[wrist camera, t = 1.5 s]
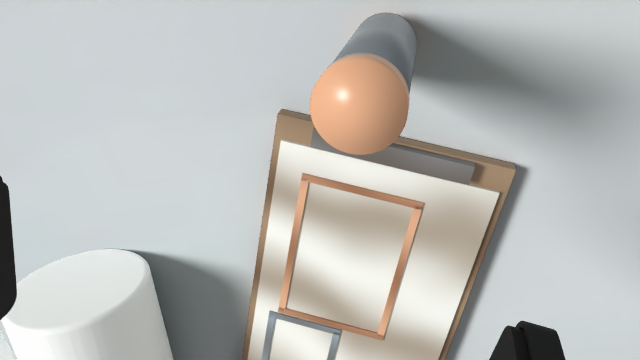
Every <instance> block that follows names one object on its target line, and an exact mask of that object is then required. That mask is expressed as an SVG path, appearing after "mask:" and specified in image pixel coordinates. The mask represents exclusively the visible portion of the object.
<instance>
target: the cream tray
mask: <svg viewBox="0 0 640 360" xmlns="http://www.w3.org/2000/svg"><path fill="white" fill-rule="evenodd" d="M515 172H516V168H515V165H514V163H510V162H506V161H501V160H497V159H493V158H489V157H484V156H480V155H476V154H472V153H467V152H463V151H459V150H455V149H450V148H446V147H442V146H438V145H433V144H429V143H425V142H421V141H416V140H412V139H408V138H403V137H398V138H397V139H396V140H395V141H394V142H393V143H392V144H391V145H389V146H388V147H386V148H385V149H383V150H381V151H379V152H375V153H372V154H367V155H354V154H348V153H345V152H342V151H340V150H338V149H336V148H334V147H332V146H331V145H330V144H328V143H327V142H326V141H325V140H324V139H323V138H322V137H321V136H320V134H319V133H318V132H317V130H316V128H315V126H314V124H313V121H312V118H311V116H310V115H305V114H301V113H297V112H293V111H288V110H284V109H281V110H280V112H279V113H278V115H277V122H276V129H275V136H274V143H273V150H272V157H271V163H270V170H269V177H268V184H267V191H266V198H265V205H264V211H263V218H262V225H261V232H260V239H259V246H258V253H257V260H256V266H255V273H254V280H253V287H252V294H251V301H250V308H249V314H248V321H247V328H246V335H245V342H244V349H243V356H242V360H445V358H446V355H447V352H448V350H449V347H450V344H451V342H452V339H453V336H454V334H455V331H456V328H457V326H458V323H459V320H460V318H461V315H462V312H463V310H464V307H465V304H466V302H467V299H468V296H469V294H470V291H471V288H472V286H473V283H474V280H475V278H476V275H477V272H478V270H479V267H480V265H481V262H482V259H483V257H484V254H485V251H486V249H487V246H488V243H489V241H490V238H491V235H492V233H493V230H494V227H495V225H496V222H497V219H498V217H499V214H500V211H501V209H502V206H503V203H504V201H505V198H506V195H507V193H508V190H509V187H510V185H511V182H512V179H513V177H514V174H515Z"/></svg>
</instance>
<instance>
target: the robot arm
mask: <svg viewBox="0 0 640 360" xmlns="http://www.w3.org/2000/svg"><path fill="white" fill-rule="evenodd" d="M16 297H17V287H16V275H15V262H14V250H13V237H12V224H11V212H10V199H9V190H8V186H7V185H6V184H5V183H3V180H2V178H1V176H0V320H1V319H2V318H3V317H4V316H5V315H7V314H8V312H9V311H10V310H11V309H12V307H13V306H14V303H15V301H16ZM489 360H565V357H564V353H563V350H562V346H561V343H560V339H559V336H558V334H557V332H556V331H555V330H554V329H550V328H547V327H543V326H540V325H536V324H533V323H529V322H525V321H520V322H519V323H518V324H517V325H516V327H512V326H507V327H506V328H505V329H504V331H503V332H502V335H501V337H500V339H499V341H498V343H497V345H496V347H495V349H494V351H493V353H492V355H491V357H490V359H489Z"/></svg>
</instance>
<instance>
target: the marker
mask: <svg viewBox="0 0 640 360" xmlns="http://www.w3.org/2000/svg"><path fill="white" fill-rule="evenodd" d="M416 50H417V39H416V35H415V32H414V30H413V28H412V27H411V25H410V24H409V23H408V22H407V21H406V20H405V19H404V18H402V17H401V16H399V15H397V14H393V13H379V14H375V15H373V16H371V17H369V18H367V19H366V20H365V21H364V22H363V23H362V24H361V25H360V26H359V27H358V29H357V30H356V32H355V33H354V34H353V36H352V37H351V38H350V40H349V41H348V43H347V44H346V45H345V47H344V48H343V49H342V51H341V52H340V53H339V55H338V56H337V58H336V59H335V60H334V62H333V63H332V64H331V65H330V66H329V67H328V68H327V69H326V70H325V71H324V73H323V74H322V75H321V77H320V78H319V79H318V81H317V82H316V84H315V86H314V88H313V91H312V94H311V98H310V113H311V118H312V121H313V124H314V126H315V128H316V130H317V132H318V133H319V134H320V136H321V137H322V138H323V139H324V140H325V141H326V142H327V143H328V144H330V145H331V146H332V147H334V148H336V149H338V150H340V151H342V152H345V153H348V154H354V155H367V154H372V153H375V152H379V151H381V150H383V149H385V148H386V147H388V146H389V145H391V144H392V143H393V142H394V141H395V140H396V139H397V138H398V137H399V135H400V134H401V132H402V130H403V128H404V126H405V123H406V120H407V115H408V109H409V93H410V86H411V80H412V74H413V68H414V62H415V56H416Z"/></svg>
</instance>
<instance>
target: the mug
mask: <svg viewBox="0 0 640 360" xmlns="http://www.w3.org/2000/svg"><path fill="white" fill-rule="evenodd" d="M16 287H17V297H16V301H15V303H14V306H13V307H12V309H11V310H10V311H9V312H8V314H7V315H5V316H4V317H3V318H2V319H1V320H0V323H1V322H3V324H4V327H5V329H6V332H7V334H8V337H9V339H10V341H11V344H12V346H13V349H14V351H15V354H16V356H17V357H16V356H15V355H14V353H13V352H12V350H11V349H10V347H9V345H8V344H7V342H6V340H5V338H4V336H3V334H2V332H1V329H0V360H173V356H172V352H171V348H170V344H169V341H168V337H167V333H166V329H165V325H164V321H163V317H162V314H161V310H160V306H159V302H158V298H157V294H156V290H155V287H154V283H153V279H152V275H151V271H150V268H149V265H148V263H147V262H146V261H145V259H144V258H142V257H141V256H139V255H138V254H136V253H133V252H130V251H126V250H120V249H100V250H92V251H86V252H82V253H78V254H74V255H70V256H67V257H64V258H62V259H59V260H56V261H54V262H52V263H50V264H47V265H45V266H43V267H41V268H40V269H38V270H36V271H34V272H33V273H31V274H30V275H28V276H27V277H25V278H24V279H23V280H21V281H20V282H19V283H18V284H17V285H16Z"/></svg>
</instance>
